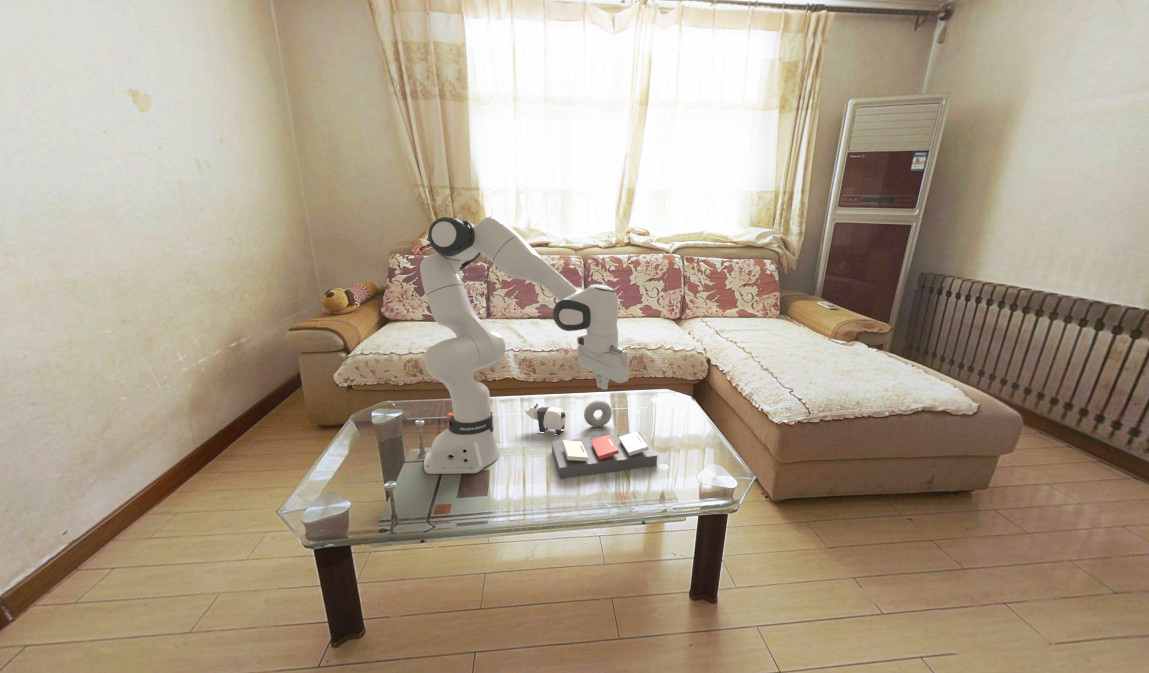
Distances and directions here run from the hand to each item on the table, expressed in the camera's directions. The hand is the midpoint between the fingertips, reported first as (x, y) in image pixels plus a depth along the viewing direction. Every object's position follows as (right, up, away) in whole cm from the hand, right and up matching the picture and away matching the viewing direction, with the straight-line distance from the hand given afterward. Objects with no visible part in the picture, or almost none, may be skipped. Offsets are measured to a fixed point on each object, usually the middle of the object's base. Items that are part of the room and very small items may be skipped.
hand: (602, 388), depth 122 cm
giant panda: (-18, -18, +24) cm, 35 cm away
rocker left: (-8, -18, +1) cm, 20 cm away
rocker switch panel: (0, -22, +6) cm, 23 cm away
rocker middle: (+1, -18, +3) cm, 18 cm away
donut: (0, -17, +27) cm, 32 cm away
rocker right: (+10, -17, +4) cm, 20 cm away
